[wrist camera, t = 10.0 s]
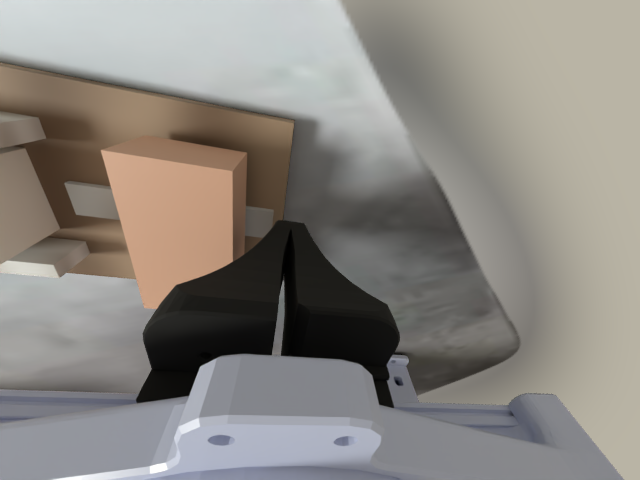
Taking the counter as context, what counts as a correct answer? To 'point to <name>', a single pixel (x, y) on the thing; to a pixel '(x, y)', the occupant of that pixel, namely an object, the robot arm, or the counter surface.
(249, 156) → the rail board
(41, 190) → the block
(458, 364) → the counter surface
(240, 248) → the peach rectangular block
